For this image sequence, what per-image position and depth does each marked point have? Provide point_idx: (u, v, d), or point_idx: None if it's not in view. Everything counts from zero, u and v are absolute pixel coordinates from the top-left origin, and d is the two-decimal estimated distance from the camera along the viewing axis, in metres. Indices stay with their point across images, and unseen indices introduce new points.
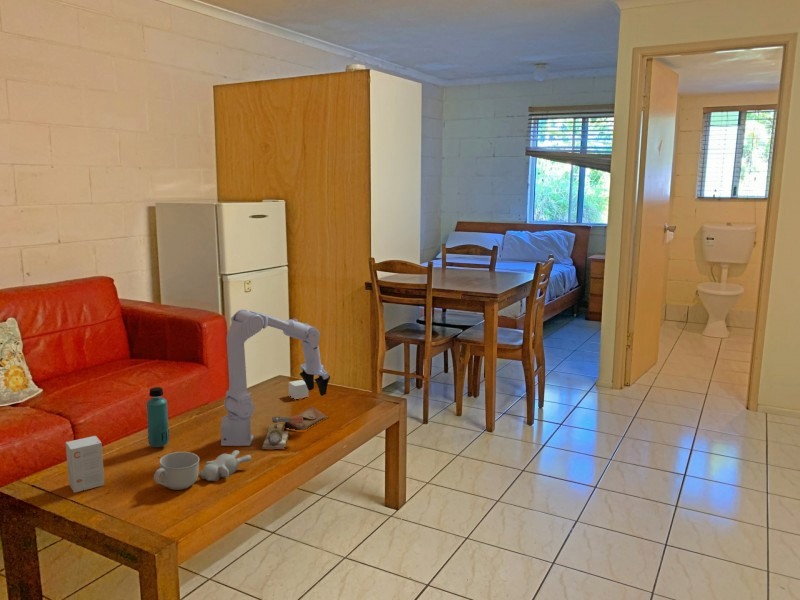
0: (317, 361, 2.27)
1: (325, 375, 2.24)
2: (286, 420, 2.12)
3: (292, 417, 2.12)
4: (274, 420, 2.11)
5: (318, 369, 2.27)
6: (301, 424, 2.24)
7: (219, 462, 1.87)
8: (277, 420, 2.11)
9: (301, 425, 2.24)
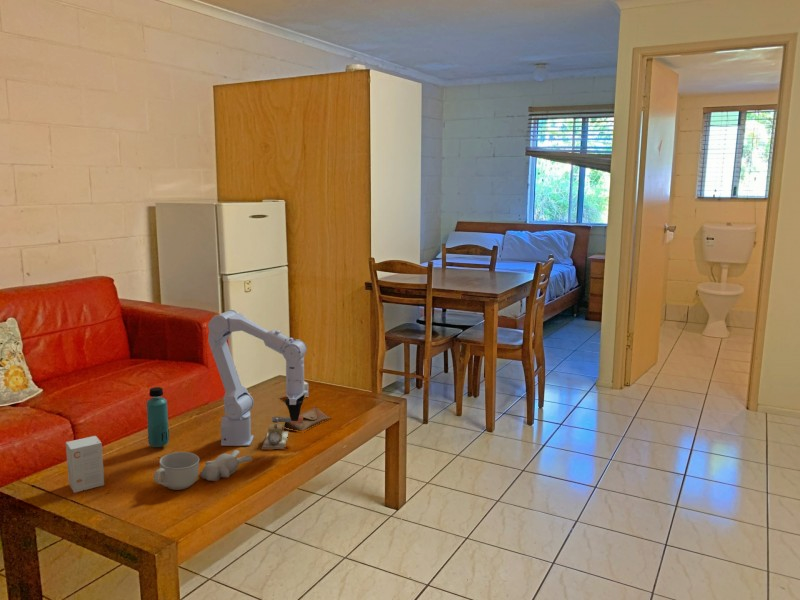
0: (294, 383, 2.01)
1: (291, 400, 1.98)
2: (286, 420, 2.12)
3: None
4: (274, 420, 2.11)
5: (294, 392, 2.02)
6: (301, 424, 2.24)
7: (219, 462, 1.87)
8: (277, 420, 2.11)
9: (300, 426, 2.23)
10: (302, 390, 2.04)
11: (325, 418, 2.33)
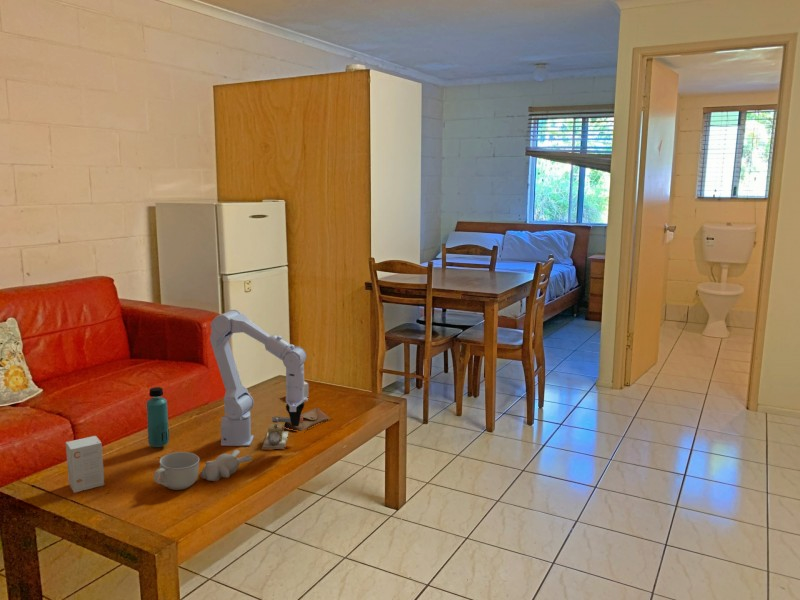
0: (294, 390, 2.02)
1: (291, 407, 1.98)
2: (286, 420, 2.12)
3: None
4: (274, 420, 2.11)
5: (294, 399, 2.02)
6: (301, 424, 2.24)
7: (219, 462, 1.87)
8: (277, 420, 2.11)
9: (300, 426, 2.23)
10: (302, 397, 2.04)
11: (326, 418, 2.32)
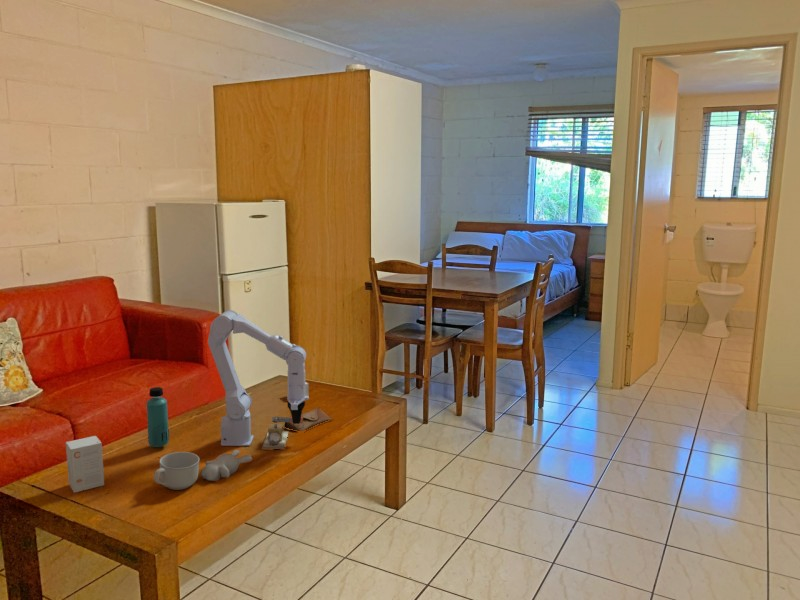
0: (295, 389, 2.06)
1: (293, 406, 2.02)
2: (286, 420, 2.12)
3: None
4: (274, 420, 2.11)
5: (295, 398, 2.07)
6: (300, 425, 2.24)
7: (219, 462, 1.88)
8: (277, 420, 2.11)
9: (300, 426, 2.23)
10: (303, 395, 2.08)
11: (326, 419, 2.32)
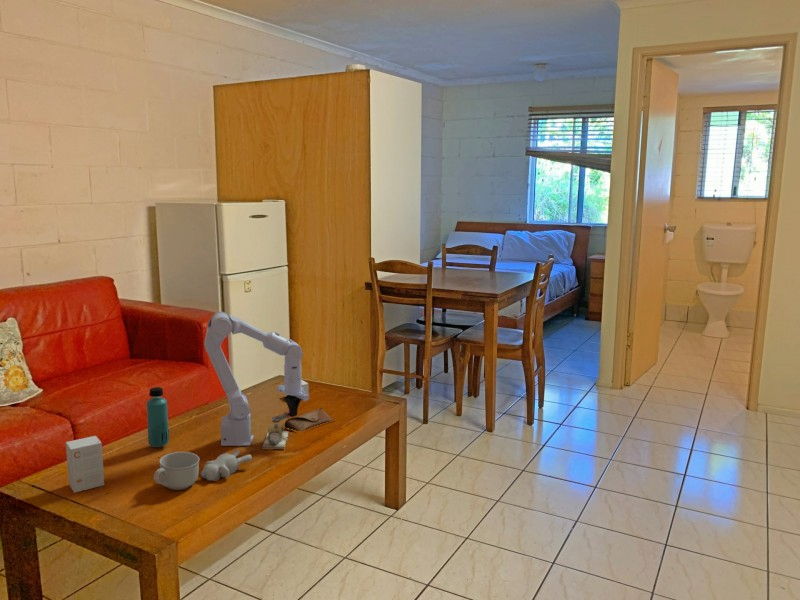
0: (298, 381, 2.13)
1: (306, 397, 2.11)
2: (284, 416, 2.15)
3: (287, 412, 2.16)
4: (277, 420, 2.11)
5: (298, 390, 2.14)
6: (300, 425, 2.24)
7: (219, 462, 1.88)
8: (279, 419, 2.12)
9: (299, 426, 2.23)
10: None
11: (328, 420, 2.31)
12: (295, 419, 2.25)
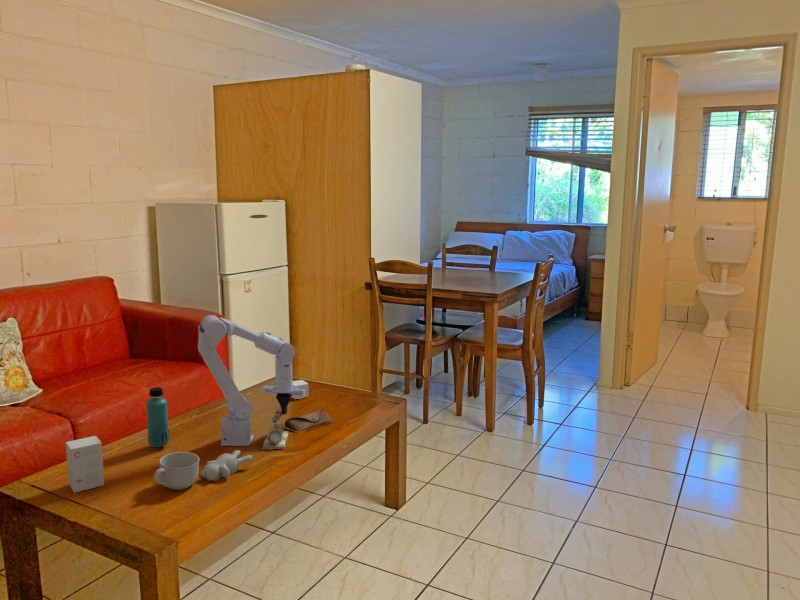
0: (291, 378, 2.16)
1: (303, 392, 2.16)
2: (279, 415, 2.16)
3: (279, 411, 2.17)
4: (279, 419, 2.12)
5: (292, 387, 2.17)
6: (300, 425, 2.23)
7: (220, 462, 1.88)
8: None
9: (299, 426, 2.23)
10: None
11: (328, 421, 2.30)
12: (295, 419, 2.25)
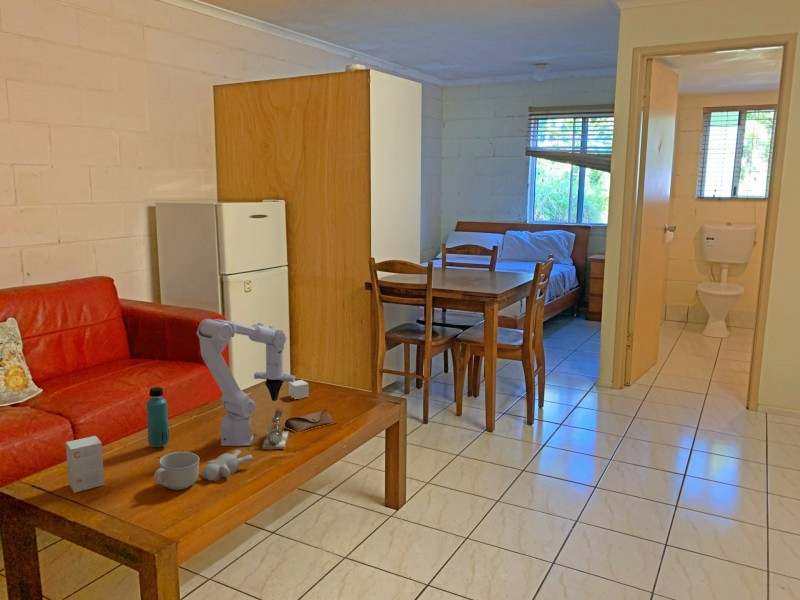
0: (282, 365, 2.20)
1: (293, 378, 2.20)
2: (279, 415, 2.16)
3: (279, 411, 2.17)
4: (279, 419, 2.12)
5: (282, 374, 2.21)
6: (299, 425, 2.23)
7: (220, 462, 1.88)
8: None
9: (298, 426, 2.23)
10: None
11: (329, 422, 2.29)
12: (295, 419, 2.25)
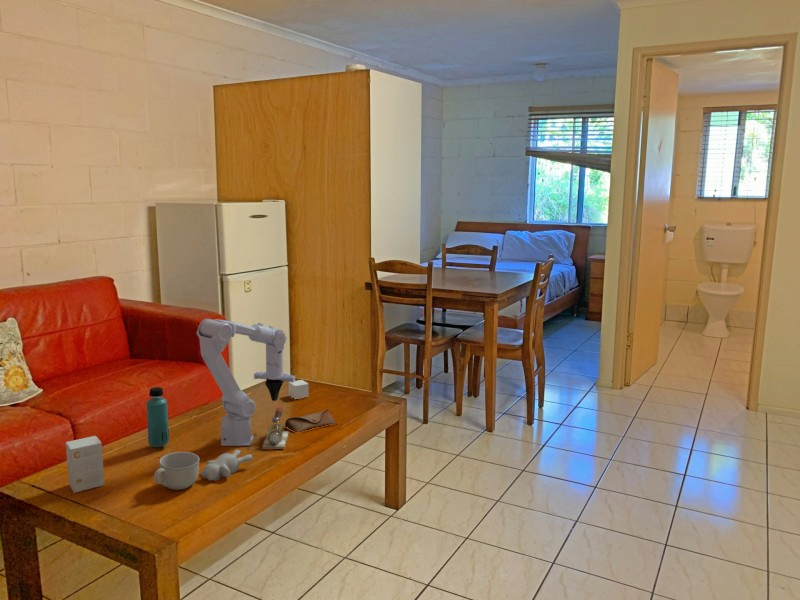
0: (282, 365, 2.20)
1: (293, 378, 2.20)
2: (279, 415, 2.16)
3: (279, 411, 2.17)
4: (279, 419, 2.12)
5: (282, 374, 2.21)
6: (299, 425, 2.23)
7: (220, 461, 1.88)
8: None
9: (298, 427, 2.22)
10: None
11: (330, 423, 2.28)
12: (295, 419, 2.25)
